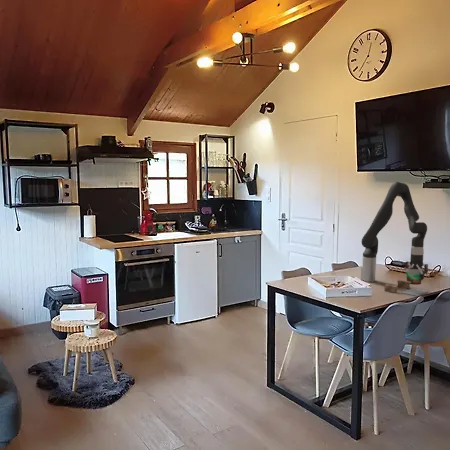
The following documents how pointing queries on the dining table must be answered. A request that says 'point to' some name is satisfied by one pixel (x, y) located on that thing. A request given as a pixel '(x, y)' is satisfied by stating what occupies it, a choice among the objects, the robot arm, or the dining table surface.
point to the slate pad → (414, 292)
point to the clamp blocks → (394, 288)
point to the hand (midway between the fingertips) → (415, 278)
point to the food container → (413, 276)
